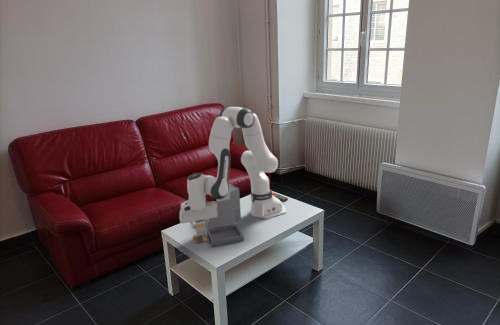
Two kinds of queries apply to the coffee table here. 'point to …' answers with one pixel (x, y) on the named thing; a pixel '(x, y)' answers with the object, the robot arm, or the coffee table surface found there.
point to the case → (225, 235)
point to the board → (201, 239)
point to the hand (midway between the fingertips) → (200, 227)
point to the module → (200, 227)
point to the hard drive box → (234, 200)
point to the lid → (223, 215)
